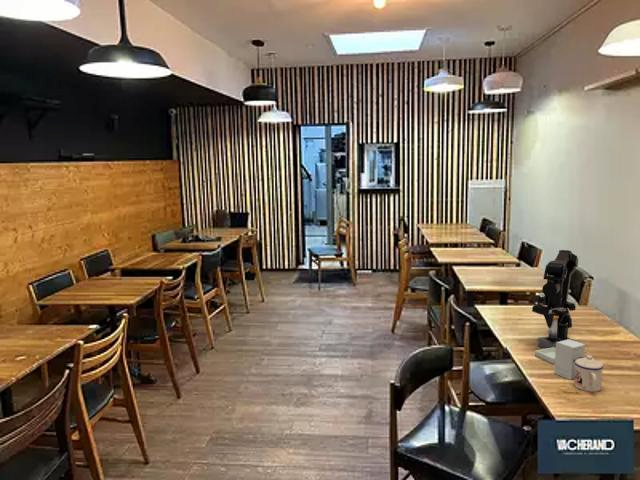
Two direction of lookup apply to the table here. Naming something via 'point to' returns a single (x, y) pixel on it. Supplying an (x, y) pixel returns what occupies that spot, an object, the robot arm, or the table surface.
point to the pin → (553, 327)
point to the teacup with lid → (588, 374)
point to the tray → (546, 355)
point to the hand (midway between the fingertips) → (552, 327)
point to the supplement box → (567, 357)
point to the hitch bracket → (548, 342)
